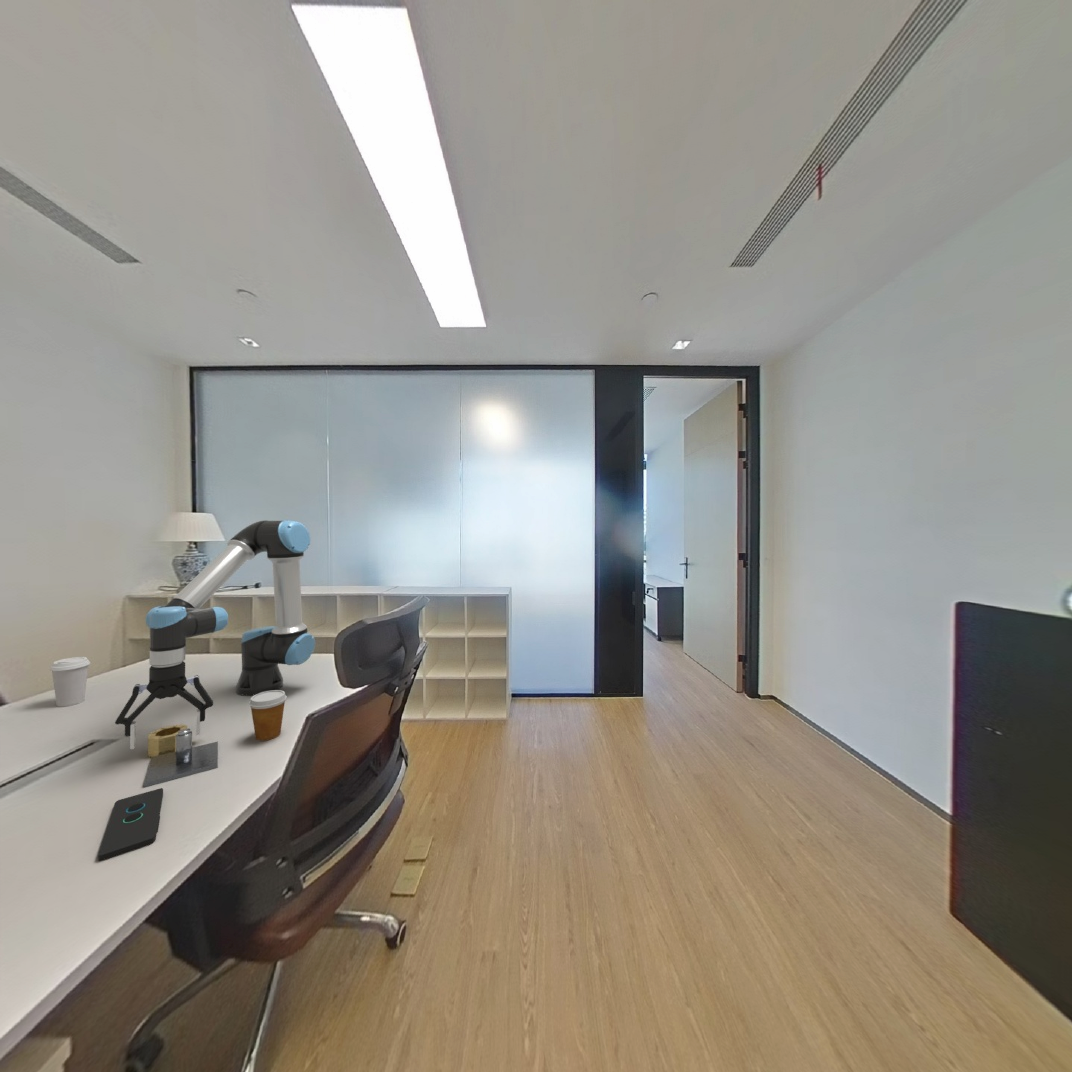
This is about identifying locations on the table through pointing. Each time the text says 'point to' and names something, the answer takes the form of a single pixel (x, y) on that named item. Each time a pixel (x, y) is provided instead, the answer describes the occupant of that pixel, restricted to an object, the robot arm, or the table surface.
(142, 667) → the table surface
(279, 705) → the disposable coffee cup
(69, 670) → the coffee cup
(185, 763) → the metal peg stand
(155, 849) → the table surface
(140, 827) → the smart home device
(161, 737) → the ring
